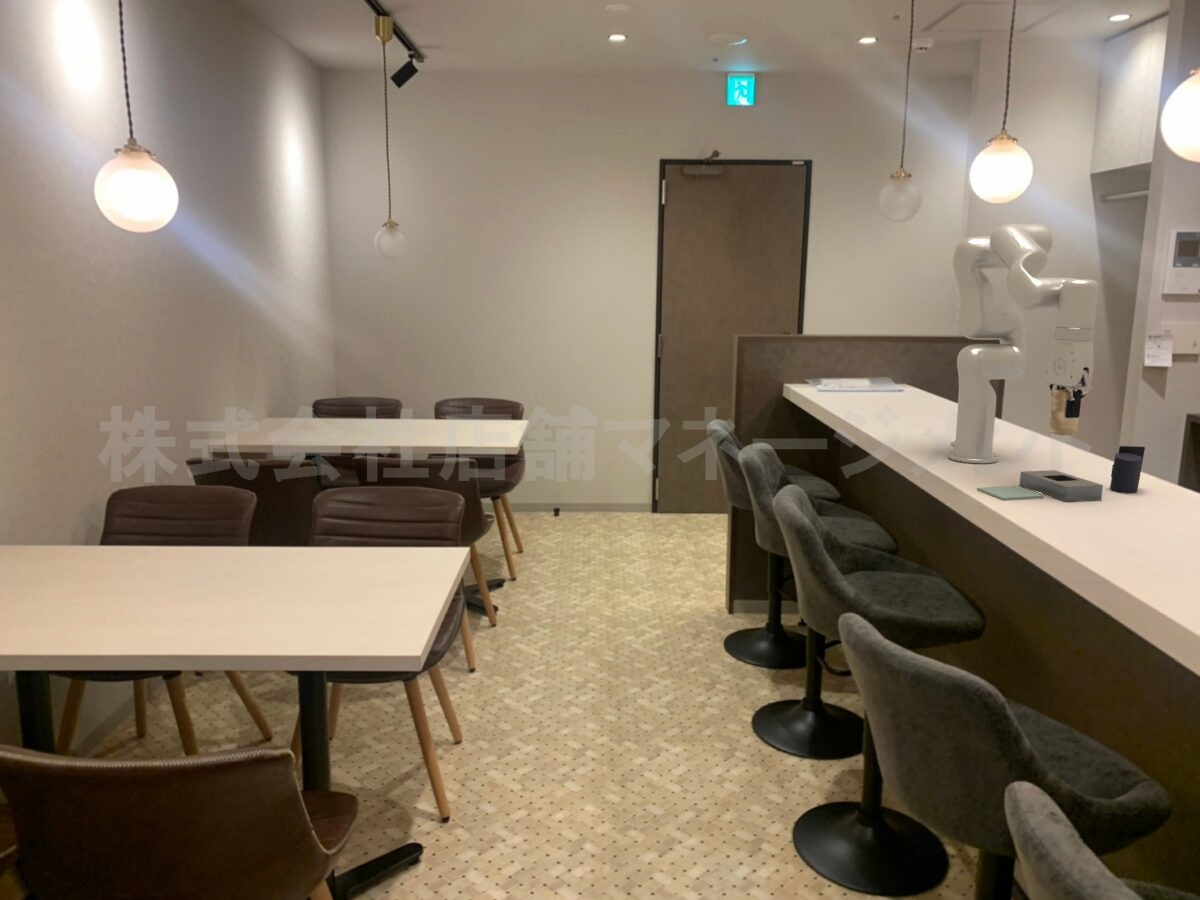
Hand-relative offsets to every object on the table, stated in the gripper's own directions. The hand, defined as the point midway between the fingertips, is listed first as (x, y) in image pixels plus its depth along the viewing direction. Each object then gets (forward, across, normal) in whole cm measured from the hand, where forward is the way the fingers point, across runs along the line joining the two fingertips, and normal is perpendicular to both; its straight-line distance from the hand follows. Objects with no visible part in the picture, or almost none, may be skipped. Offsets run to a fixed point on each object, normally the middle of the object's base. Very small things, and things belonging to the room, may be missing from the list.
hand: (1064, 414), depth 199 cm
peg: (+4, 0, 0) cm, 4 cm away
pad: (+18, 0, -12) cm, 22 cm away
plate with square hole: (+18, +1, 0) cm, 18 cm away
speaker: (+18, +2, +17) cm, 25 cm away
